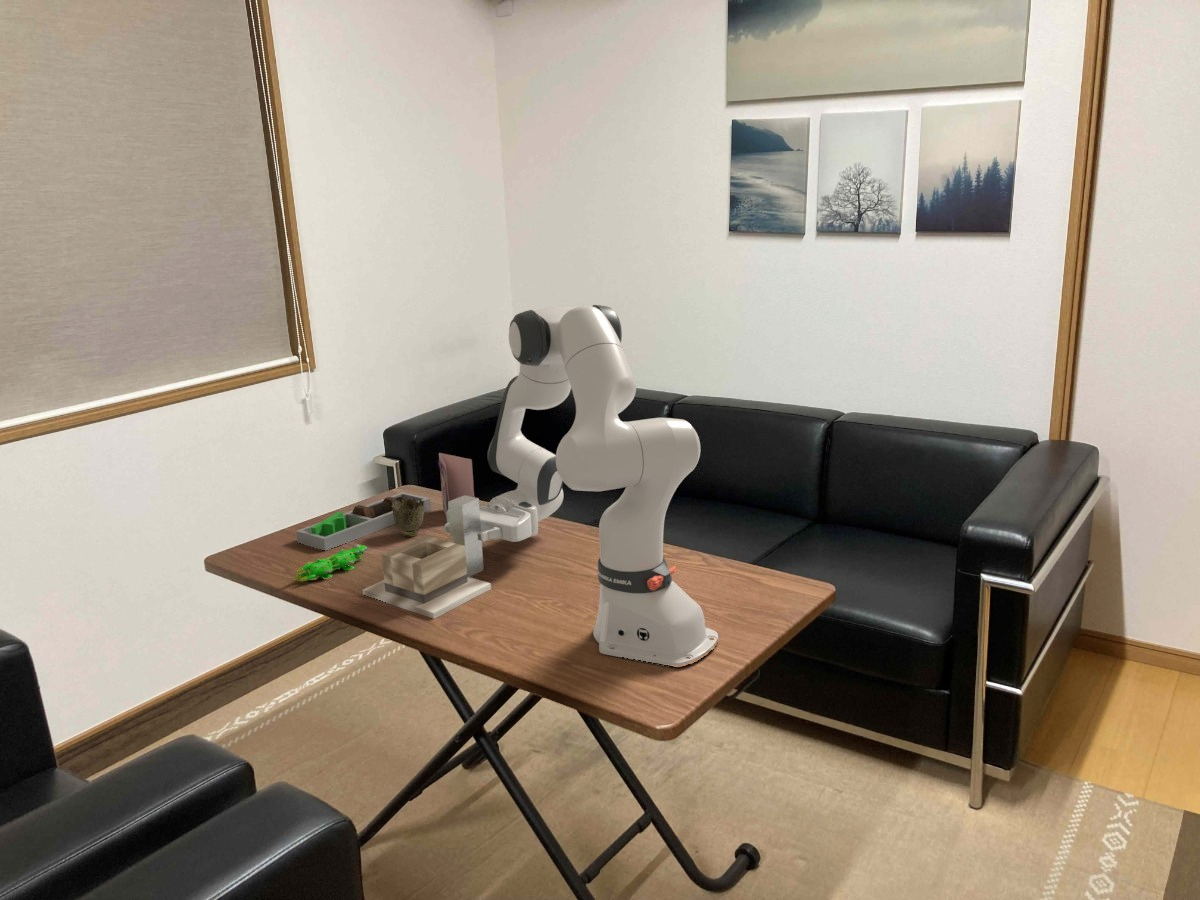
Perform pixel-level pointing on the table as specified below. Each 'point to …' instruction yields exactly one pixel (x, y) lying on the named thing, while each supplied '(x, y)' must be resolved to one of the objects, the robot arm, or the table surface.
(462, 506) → the grey rectangular bar
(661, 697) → the table surface
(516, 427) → the robot arm
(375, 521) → the parts tray
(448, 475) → the greeting card
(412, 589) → the square socket base
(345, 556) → the crocodile figurine
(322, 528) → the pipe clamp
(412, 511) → the cup
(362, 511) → the bolt
